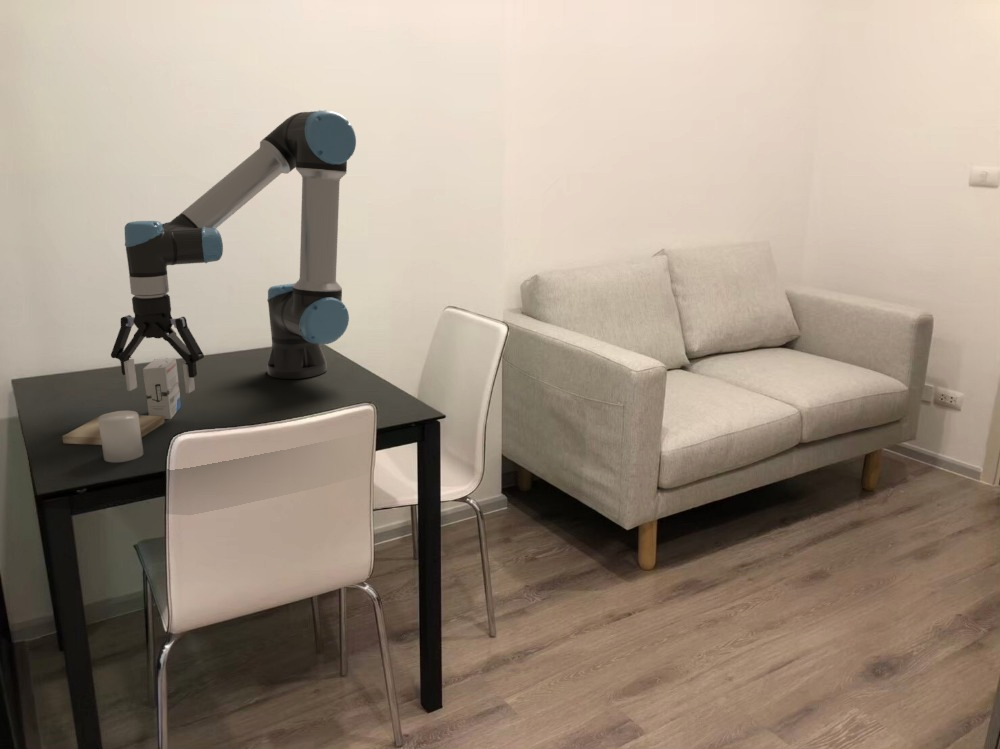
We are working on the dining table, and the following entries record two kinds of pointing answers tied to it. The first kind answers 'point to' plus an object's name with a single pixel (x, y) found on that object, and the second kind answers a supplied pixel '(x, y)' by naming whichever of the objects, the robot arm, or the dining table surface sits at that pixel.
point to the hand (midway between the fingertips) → (161, 390)
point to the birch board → (91, 430)
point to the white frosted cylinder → (120, 436)
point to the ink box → (162, 387)
